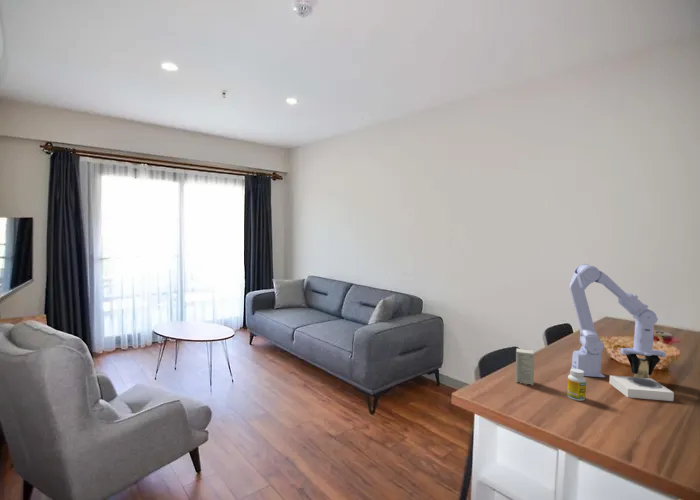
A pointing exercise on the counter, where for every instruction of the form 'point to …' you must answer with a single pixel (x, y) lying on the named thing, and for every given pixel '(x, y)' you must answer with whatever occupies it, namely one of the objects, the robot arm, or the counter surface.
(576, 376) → the supplement bottle
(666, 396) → the plate
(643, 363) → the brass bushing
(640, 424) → the counter surface
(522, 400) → the counter surface
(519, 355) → the skincare box
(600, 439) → the counter surface
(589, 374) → the robot arm
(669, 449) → the counter surface
